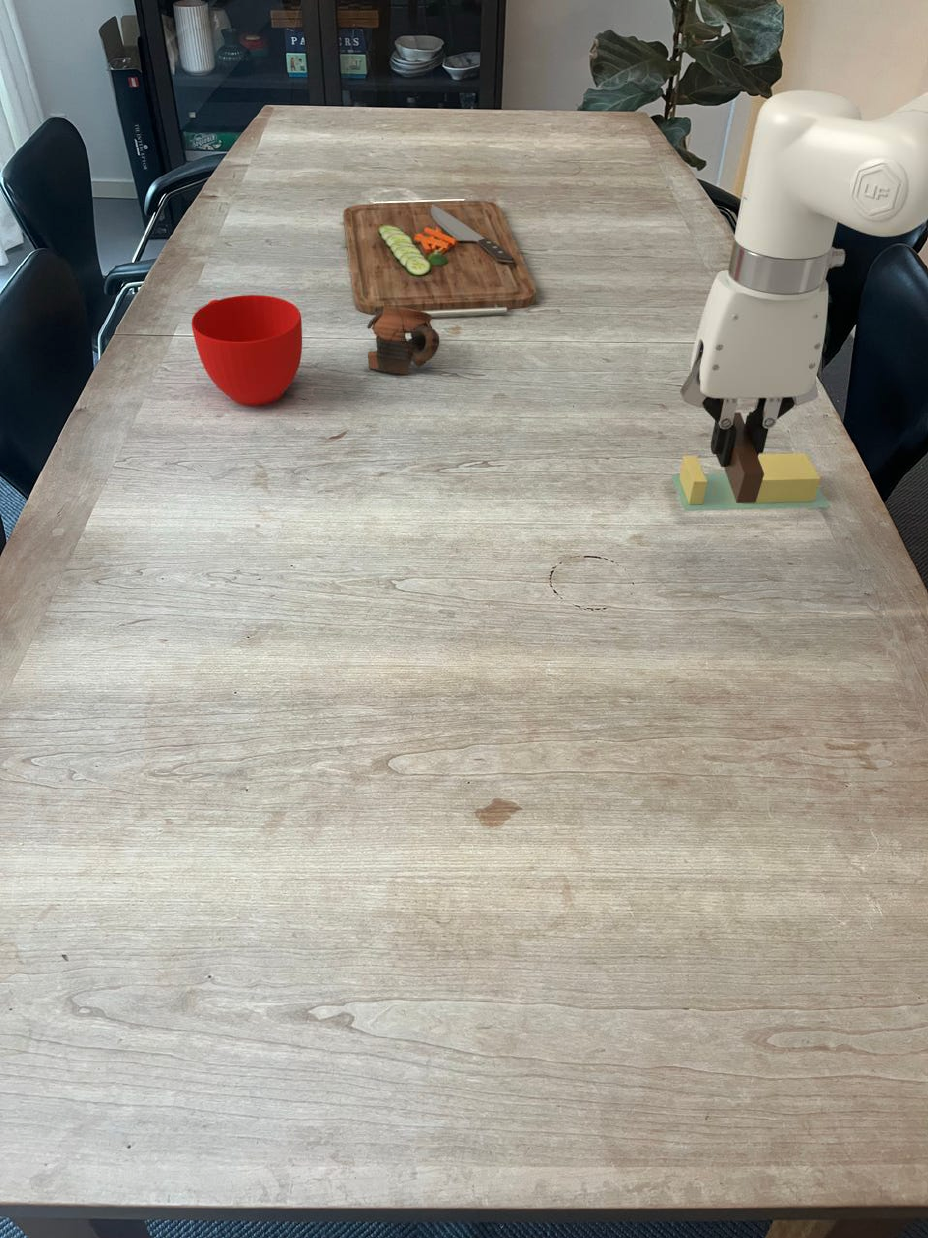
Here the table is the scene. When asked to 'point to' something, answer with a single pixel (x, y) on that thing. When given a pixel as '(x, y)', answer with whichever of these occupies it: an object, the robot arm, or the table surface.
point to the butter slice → (693, 480)
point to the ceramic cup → (249, 346)
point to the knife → (744, 466)
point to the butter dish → (723, 498)
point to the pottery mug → (401, 339)
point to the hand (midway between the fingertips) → (734, 457)
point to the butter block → (787, 478)
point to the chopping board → (435, 257)
